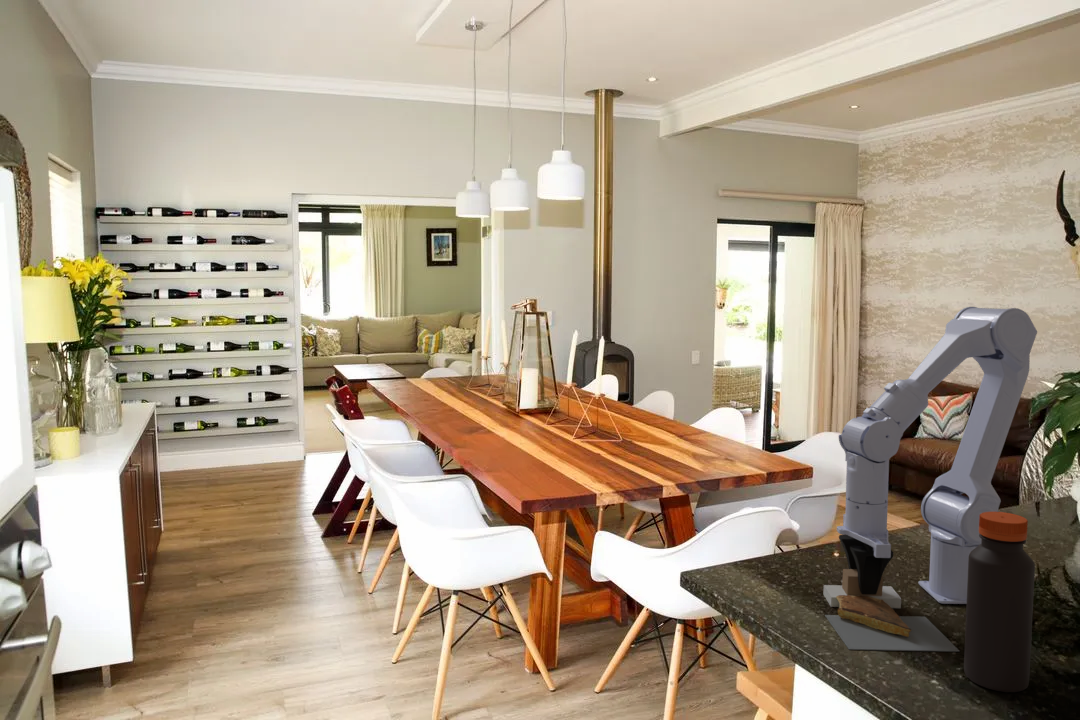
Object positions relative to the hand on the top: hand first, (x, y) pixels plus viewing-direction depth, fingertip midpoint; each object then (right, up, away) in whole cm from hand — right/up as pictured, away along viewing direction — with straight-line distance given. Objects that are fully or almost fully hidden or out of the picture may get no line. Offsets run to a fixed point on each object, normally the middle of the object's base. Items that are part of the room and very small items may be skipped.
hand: (863, 588), depth 116 cm
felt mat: (-1, -3, -10) cm, 10 cm away
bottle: (+7, -5, -22) cm, 24 cm away
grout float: (0, -2, +1) cm, 2 cm away
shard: (0, -3, -5) cm, 6 cm away
